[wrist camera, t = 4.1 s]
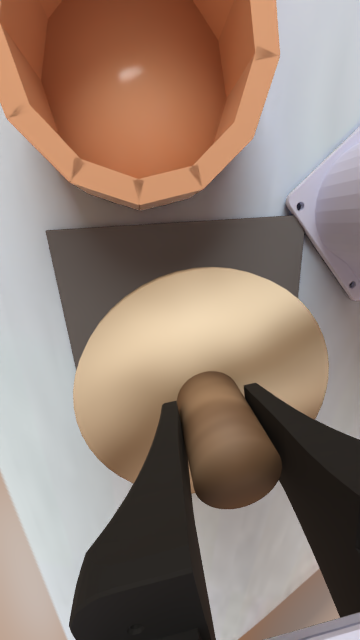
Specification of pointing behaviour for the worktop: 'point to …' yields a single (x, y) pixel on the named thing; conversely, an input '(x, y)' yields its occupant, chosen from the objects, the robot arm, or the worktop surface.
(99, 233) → the mat
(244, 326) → the lid
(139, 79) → the bowl
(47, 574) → the worktop surface
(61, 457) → the worktop surface
